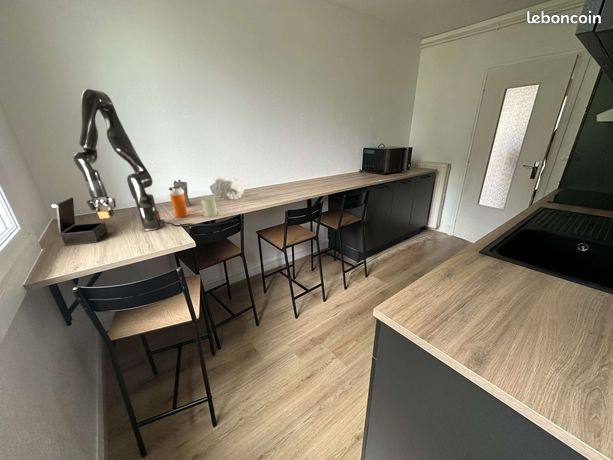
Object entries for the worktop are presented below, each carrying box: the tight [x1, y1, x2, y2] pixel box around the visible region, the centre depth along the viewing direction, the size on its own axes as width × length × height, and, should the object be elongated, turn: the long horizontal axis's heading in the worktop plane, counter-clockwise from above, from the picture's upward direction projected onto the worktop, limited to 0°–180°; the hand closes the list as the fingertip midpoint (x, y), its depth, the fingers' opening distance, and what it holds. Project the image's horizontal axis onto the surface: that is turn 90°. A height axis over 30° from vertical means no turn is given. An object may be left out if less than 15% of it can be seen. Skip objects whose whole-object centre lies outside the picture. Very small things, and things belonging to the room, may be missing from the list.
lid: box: [51, 197, 76, 234], centre depth 130 cm, size 15×13×5 cm
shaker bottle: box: [168, 186, 188, 219], centre depth 166 cm, size 9×9×20 cm
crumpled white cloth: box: [209, 175, 245, 201], centre depth 204 cm, size 18×18×25 cm
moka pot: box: [172, 179, 191, 208], centre depth 187 cm, size 10×15×20 cm, turn 58°
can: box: [200, 196, 218, 218], centre depth 170 cm, size 9×9×12 cm
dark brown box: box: [60, 222, 109, 247], centre depth 136 cm, size 15×13×7 cm
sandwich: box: [96, 208, 115, 220], centre depth 148 cm, size 5×6×4 cm
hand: (106, 216), depth 149 cm, fingers closed on sandwich, 5 cm apart
